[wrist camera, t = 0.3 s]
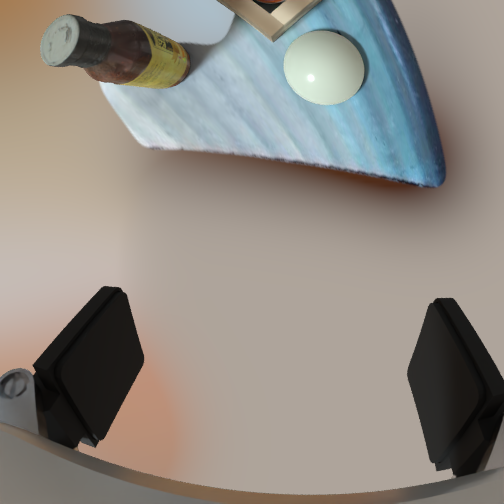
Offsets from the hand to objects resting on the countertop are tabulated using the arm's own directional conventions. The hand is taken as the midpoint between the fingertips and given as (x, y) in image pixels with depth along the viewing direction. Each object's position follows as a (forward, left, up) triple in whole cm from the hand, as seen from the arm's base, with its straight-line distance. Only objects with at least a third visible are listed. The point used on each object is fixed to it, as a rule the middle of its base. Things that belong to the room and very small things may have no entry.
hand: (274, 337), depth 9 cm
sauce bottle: (+1, -20, -30) cm, 36 cm away
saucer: (-11, -6, -30) cm, 33 cm away
